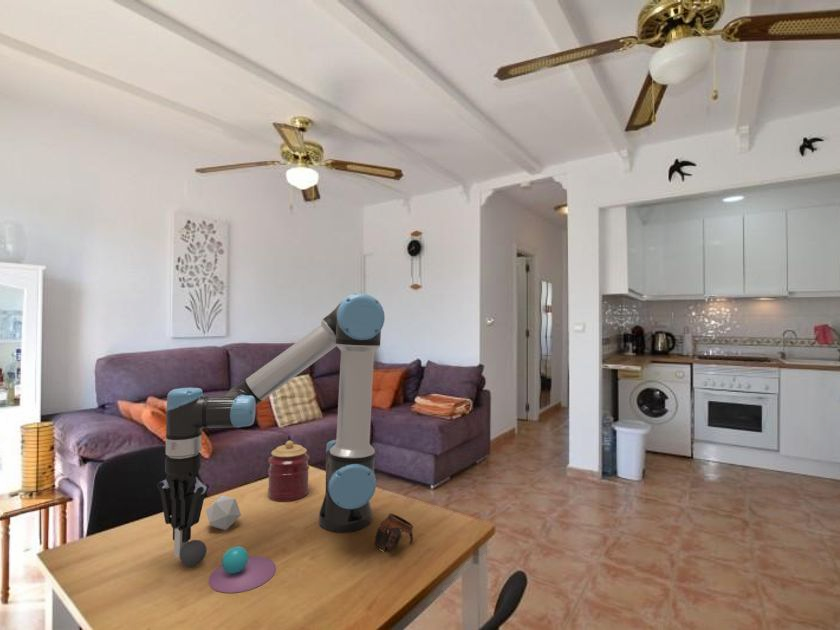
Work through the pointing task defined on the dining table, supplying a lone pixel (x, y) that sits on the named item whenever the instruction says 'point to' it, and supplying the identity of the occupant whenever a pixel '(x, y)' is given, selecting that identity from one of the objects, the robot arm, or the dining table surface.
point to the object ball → (234, 560)
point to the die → (223, 512)
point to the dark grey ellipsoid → (193, 553)
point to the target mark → (243, 576)
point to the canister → (288, 472)
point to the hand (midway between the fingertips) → (181, 554)
